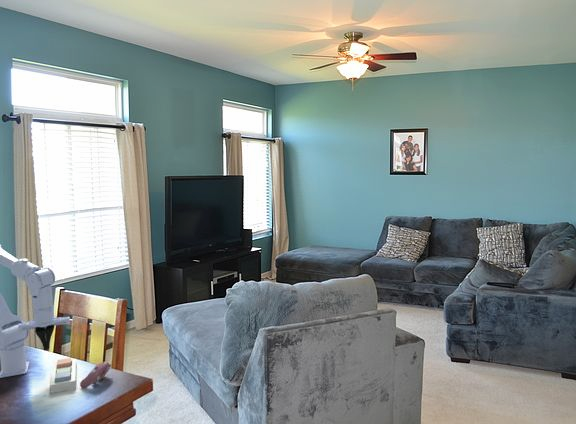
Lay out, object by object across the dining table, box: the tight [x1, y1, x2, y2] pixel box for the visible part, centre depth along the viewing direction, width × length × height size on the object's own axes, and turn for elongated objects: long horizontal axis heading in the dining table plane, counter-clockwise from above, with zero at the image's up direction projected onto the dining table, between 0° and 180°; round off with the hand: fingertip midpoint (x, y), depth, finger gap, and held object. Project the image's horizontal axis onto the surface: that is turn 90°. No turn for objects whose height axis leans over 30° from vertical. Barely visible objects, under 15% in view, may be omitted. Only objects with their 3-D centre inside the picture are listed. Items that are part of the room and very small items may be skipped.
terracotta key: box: [56, 357, 72, 368], centre depth 161 cm, size 4×4×2 cm
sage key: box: [57, 367, 71, 373], centre depth 156 cm, size 4×4×2 cm
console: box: [49, 358, 78, 394], centre depth 157 cm, size 18×7×2 cm, turn 22°
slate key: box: [55, 371, 70, 383], centre depth 151 cm, size 4×4×2 cm
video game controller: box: [79, 361, 112, 389], centre depth 154 cm, size 10×5×7 cm, turn 169°
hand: (46, 348), depth 157 cm, fingers closed
